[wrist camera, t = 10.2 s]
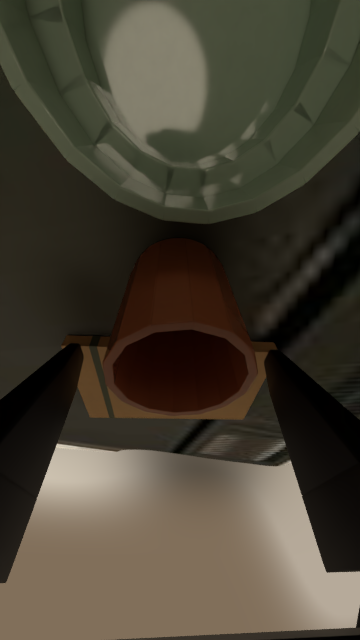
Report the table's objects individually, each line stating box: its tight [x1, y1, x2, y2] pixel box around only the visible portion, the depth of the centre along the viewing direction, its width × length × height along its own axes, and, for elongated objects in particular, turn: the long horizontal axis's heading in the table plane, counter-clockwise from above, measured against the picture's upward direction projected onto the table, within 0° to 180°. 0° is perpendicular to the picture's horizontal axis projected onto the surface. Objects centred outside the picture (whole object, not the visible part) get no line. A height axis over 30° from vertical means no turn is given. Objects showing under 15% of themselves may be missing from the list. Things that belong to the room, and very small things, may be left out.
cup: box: [102, 238, 258, 416], centre depth 12 cm, size 6×6×8 cm
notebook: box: [61, 335, 277, 419], centre depth 22 cm, size 12×18×1 cm
